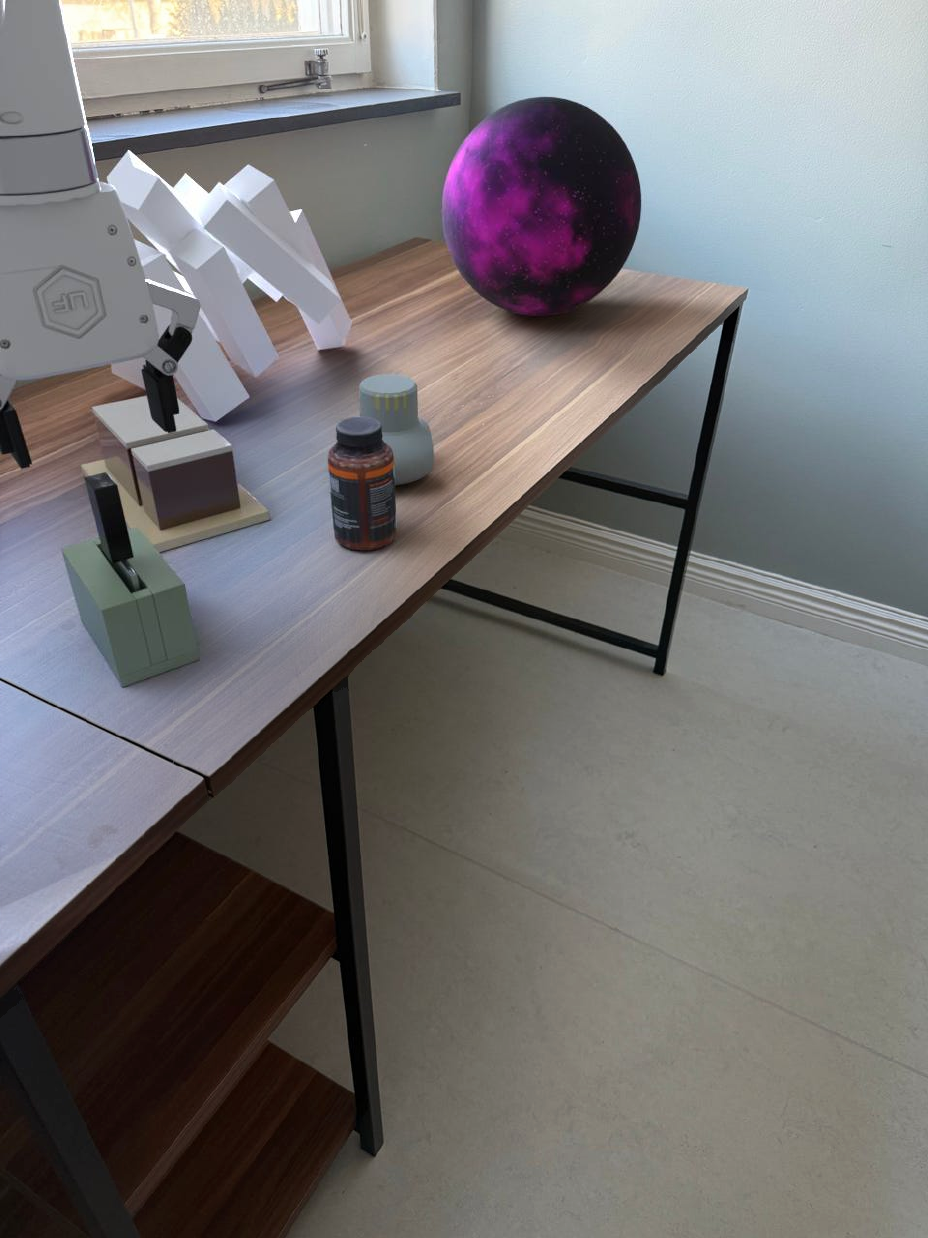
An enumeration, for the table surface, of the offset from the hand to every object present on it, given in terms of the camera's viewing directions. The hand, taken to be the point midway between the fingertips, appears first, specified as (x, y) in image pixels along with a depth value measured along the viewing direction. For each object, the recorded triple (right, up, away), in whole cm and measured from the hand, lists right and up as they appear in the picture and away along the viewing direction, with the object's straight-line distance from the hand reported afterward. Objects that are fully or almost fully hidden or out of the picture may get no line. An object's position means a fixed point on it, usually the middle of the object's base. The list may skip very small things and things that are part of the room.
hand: (95, 442), depth 60 cm
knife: (0, -13, +9) cm, 16 cm away
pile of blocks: (-5, +19, +56) cm, 60 cm away
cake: (-4, 0, +29) cm, 29 cm away
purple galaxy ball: (+37, +37, +82) cm, 98 cm away
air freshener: (+17, +3, +34) cm, 39 cm away
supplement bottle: (+16, -5, +23) cm, 29 cm away
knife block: (0, -14, +9) cm, 17 cm away
